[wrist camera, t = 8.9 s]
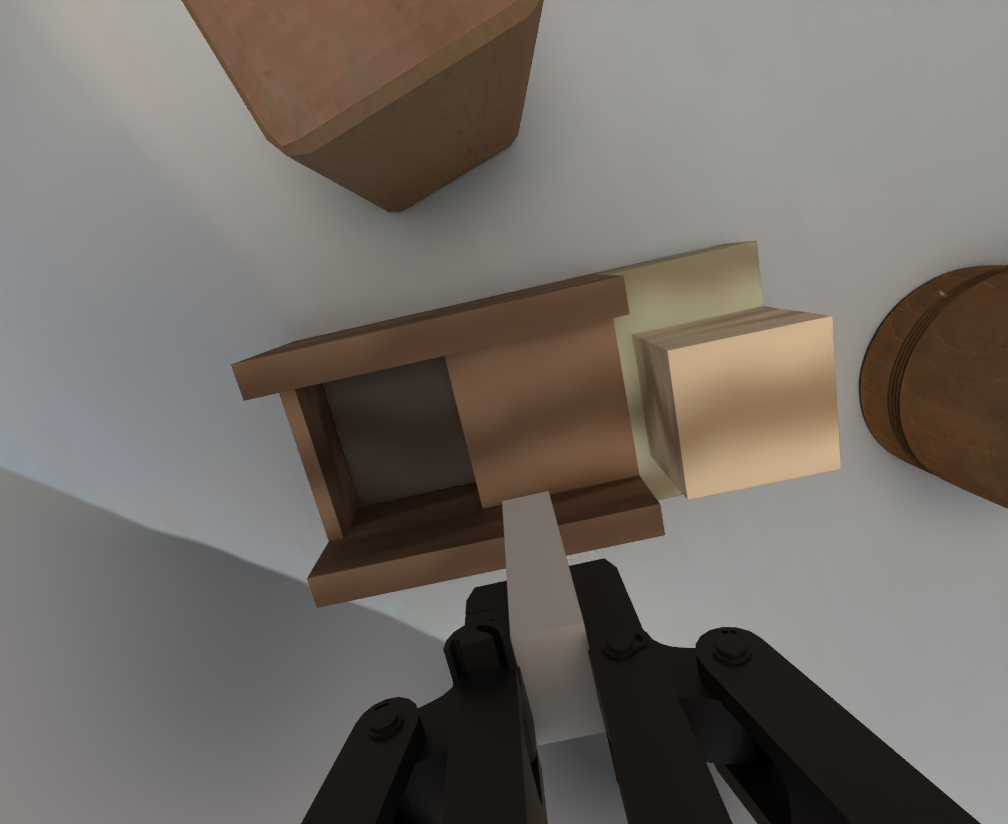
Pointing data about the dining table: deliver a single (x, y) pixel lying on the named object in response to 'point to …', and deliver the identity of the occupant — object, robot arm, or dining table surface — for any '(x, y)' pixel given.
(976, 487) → the wooden container
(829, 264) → the dining table surface
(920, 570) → the dining table surface
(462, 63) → the wooden block
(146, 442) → the dining table surface
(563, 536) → the chute
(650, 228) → the dining table surface
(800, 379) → the birch block
